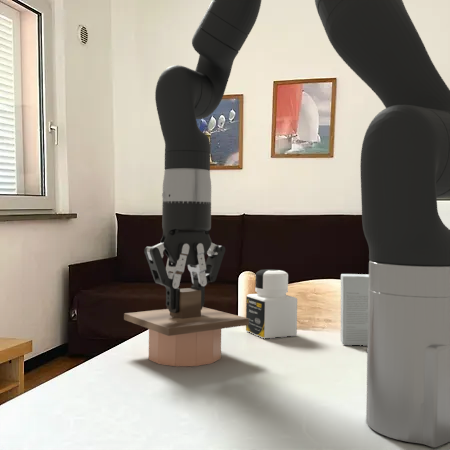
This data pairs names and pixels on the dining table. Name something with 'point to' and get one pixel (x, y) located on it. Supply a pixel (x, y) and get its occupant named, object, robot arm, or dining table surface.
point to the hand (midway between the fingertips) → (185, 310)
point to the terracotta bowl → (185, 348)
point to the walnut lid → (186, 317)
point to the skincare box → (354, 309)
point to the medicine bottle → (271, 306)
